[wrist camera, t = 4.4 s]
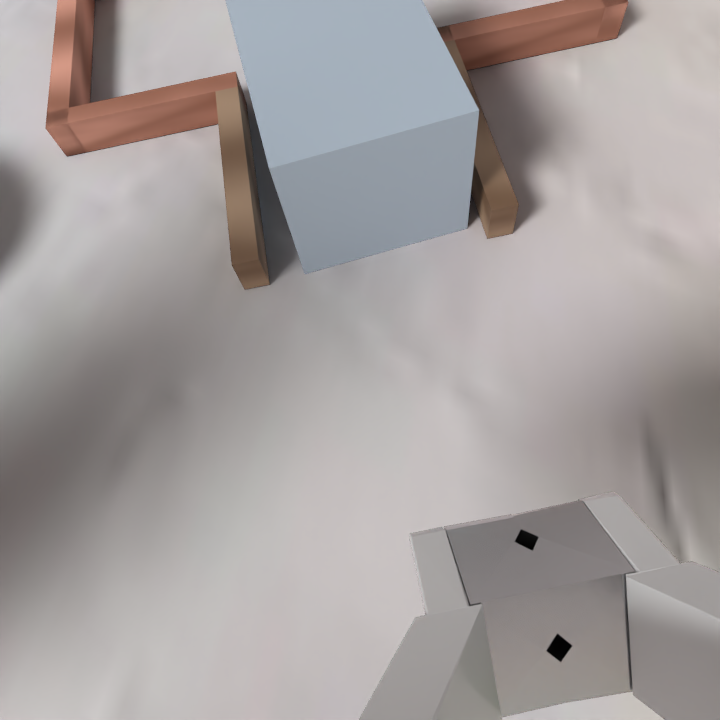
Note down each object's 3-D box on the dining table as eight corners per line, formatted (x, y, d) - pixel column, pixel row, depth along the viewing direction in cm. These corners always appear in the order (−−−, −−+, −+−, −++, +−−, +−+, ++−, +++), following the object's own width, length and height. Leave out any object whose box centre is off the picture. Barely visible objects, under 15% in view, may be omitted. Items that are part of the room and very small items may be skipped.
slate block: (467, 230, 27) (479, 110, 21) (305, 276, 27) (268, 168, 21) (396, 70, 33) (388, -65, 26) (260, 107, 32) (220, -19, 26)
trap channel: (707, 192, 27) (728, 160, 25) (54, 329, 27) (28, 307, 25) (506, -151, 41) (509, -186, 39) (81, -57, 41) (65, -88, 40)
